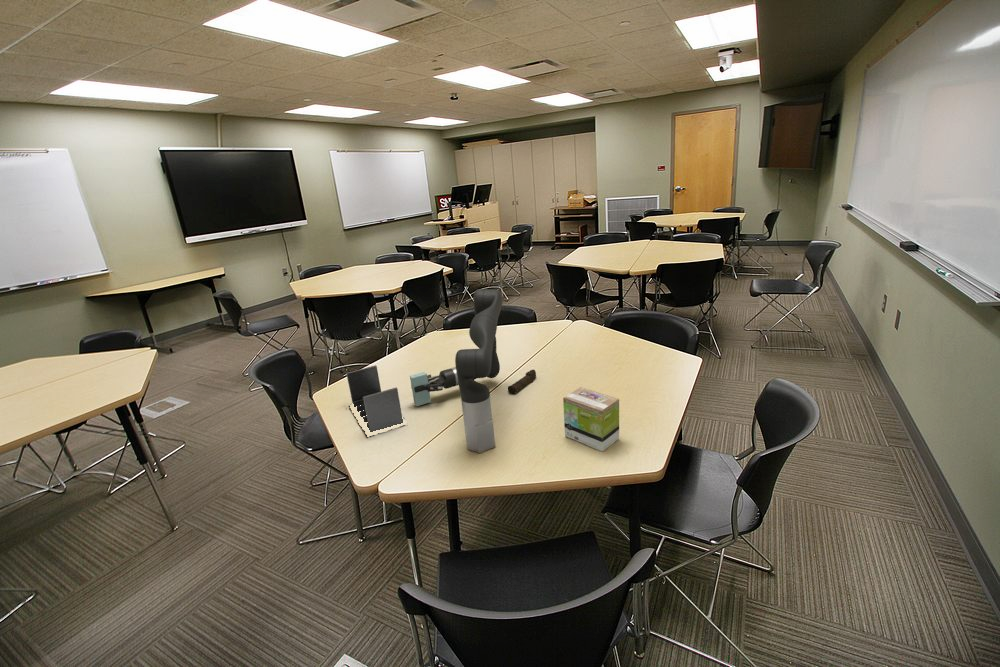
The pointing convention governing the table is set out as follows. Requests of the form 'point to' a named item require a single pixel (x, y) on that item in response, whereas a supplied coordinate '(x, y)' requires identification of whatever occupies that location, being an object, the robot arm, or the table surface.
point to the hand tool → (522, 382)
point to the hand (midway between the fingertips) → (413, 388)
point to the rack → (374, 399)
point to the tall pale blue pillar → (420, 396)
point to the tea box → (591, 418)
